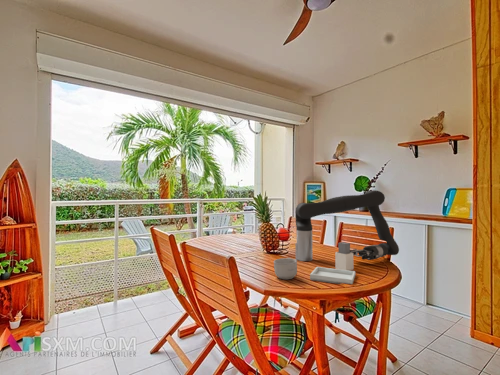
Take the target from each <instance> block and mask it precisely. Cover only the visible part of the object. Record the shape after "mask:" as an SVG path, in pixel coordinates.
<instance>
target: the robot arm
mask: <svg viewBox="0 0 500 375" xmlns="http://www.w3.org/2000/svg"><path fill="white" fill-rule="evenodd" d="M385 199H386V196H385V194H384V193H383V192H382V191H379V190H373V189H372V190H368V191H366V192H365V193H362V194H357V195H356V194H354V195H351V194H350V195H342V196H341V195H340V196H335V197H331V198H328V199H326V200H322V201H320V202H310V203H309V202H301V203H299V204H297V205H296V207H295V226H296V242H295V247H294V248H295V260H297V261H301V262H310V261H311V262H312V261H313V224H312V218H314V217H318V216H321V215H322V216H323V215H328V214H329V215H331V214H332V215H333V214H340V213H344V212H348V211H349V212H350V211H353V210H357V209H361V208H367V209H368V211H369V214H370V216H371V218H372V220H373V221H372V222H373V223H374V227H375V229H376V233H377V237H378V239H379V240H381V241H384V242H381V243H379V244H372V245H366V246H364V247H363V248H362V249H357V248H355V249H350V252H351V253H353V257H358V258H359V257H361V260H368V261H375V260H377V259H379V258H380V259H381V258H383V257H386V256H396V255H398V254H399V251H400V248H399V245H398V243H397V242H396V240H395V239H394V237H393V235H392V233H391V229H390V227H389V224H388V222H387V220H386V218H385V217H384V215H383V213H382V212H381V209H380V206H381V205H383V204H384V202H385Z"/></svg>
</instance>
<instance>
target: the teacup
mask: <svg viewBox="0 0 500 375" xmlns="http://www.w3.org/2000/svg"><path fill="white" fill-rule="evenodd" d="M273 269H274V274H275V275H276V277H278V279H281V280H291V279H294V277H295V276H296V275H297V273H298V260H297V259H296V258H291V257H285V258H283V257H282V258H277V259H274V260H273Z"/></svg>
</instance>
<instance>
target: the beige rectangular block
mask: <svg viewBox="0 0 500 375" xmlns="http://www.w3.org/2000/svg"><path fill="white" fill-rule="evenodd" d="M334 254H335V255H334V256H335V257H334V258H335V259H334V260H335V265H334V266H335V268H334V269H340V270H349V271H354V256H353V253H351V252H350V253H349V254H342V253H339V251H335V253H334Z"/></svg>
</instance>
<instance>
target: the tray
mask: <svg viewBox="0 0 500 375" xmlns="http://www.w3.org/2000/svg"><path fill="white" fill-rule="evenodd" d="M355 278H356V271H355V270H340V269H336V268H330V267H321V266H316V267H315V268H314V269H313V270H312V271H311V273H310V274H309V279H310V281H315V282H323V283H328V284H329V283H331V284H336V285H344V286H345V284H347V285H353V283H354V280H355Z"/></svg>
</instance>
